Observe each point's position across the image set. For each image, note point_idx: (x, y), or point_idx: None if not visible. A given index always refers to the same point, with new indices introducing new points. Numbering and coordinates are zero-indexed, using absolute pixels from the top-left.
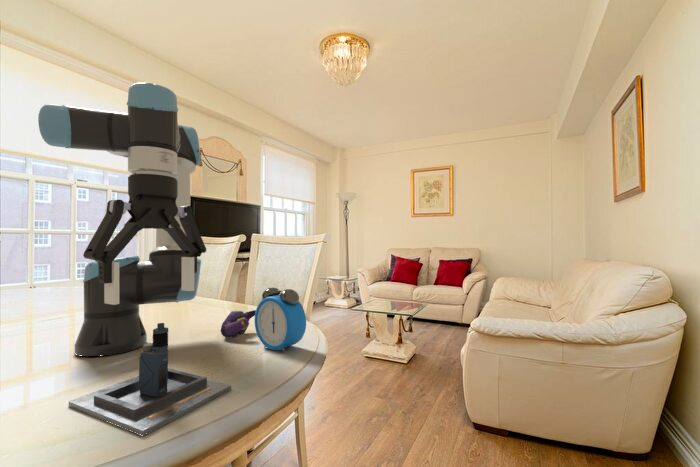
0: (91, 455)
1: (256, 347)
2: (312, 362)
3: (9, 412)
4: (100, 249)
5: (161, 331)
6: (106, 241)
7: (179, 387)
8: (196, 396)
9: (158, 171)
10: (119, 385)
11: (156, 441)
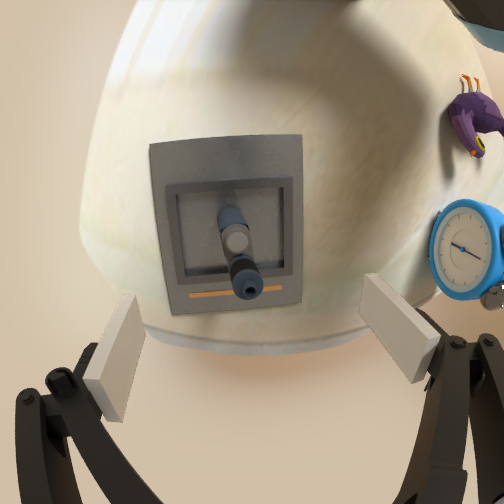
0: None
1: (436, 197)
2: None
3: (105, 95)
4: (59, 450)
5: (241, 297)
6: (68, 477)
7: None
8: None
9: None
10: (219, 148)
11: (178, 328)
